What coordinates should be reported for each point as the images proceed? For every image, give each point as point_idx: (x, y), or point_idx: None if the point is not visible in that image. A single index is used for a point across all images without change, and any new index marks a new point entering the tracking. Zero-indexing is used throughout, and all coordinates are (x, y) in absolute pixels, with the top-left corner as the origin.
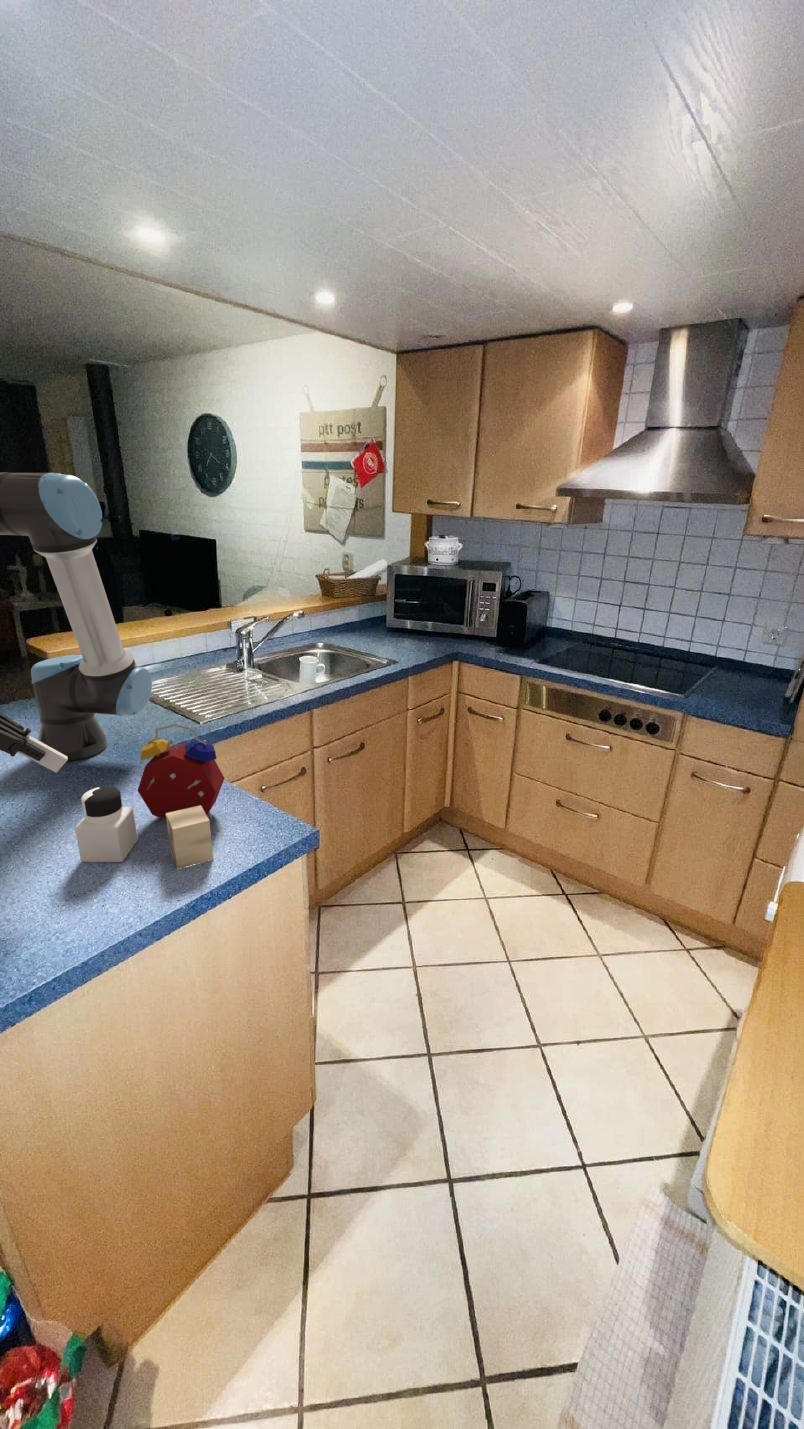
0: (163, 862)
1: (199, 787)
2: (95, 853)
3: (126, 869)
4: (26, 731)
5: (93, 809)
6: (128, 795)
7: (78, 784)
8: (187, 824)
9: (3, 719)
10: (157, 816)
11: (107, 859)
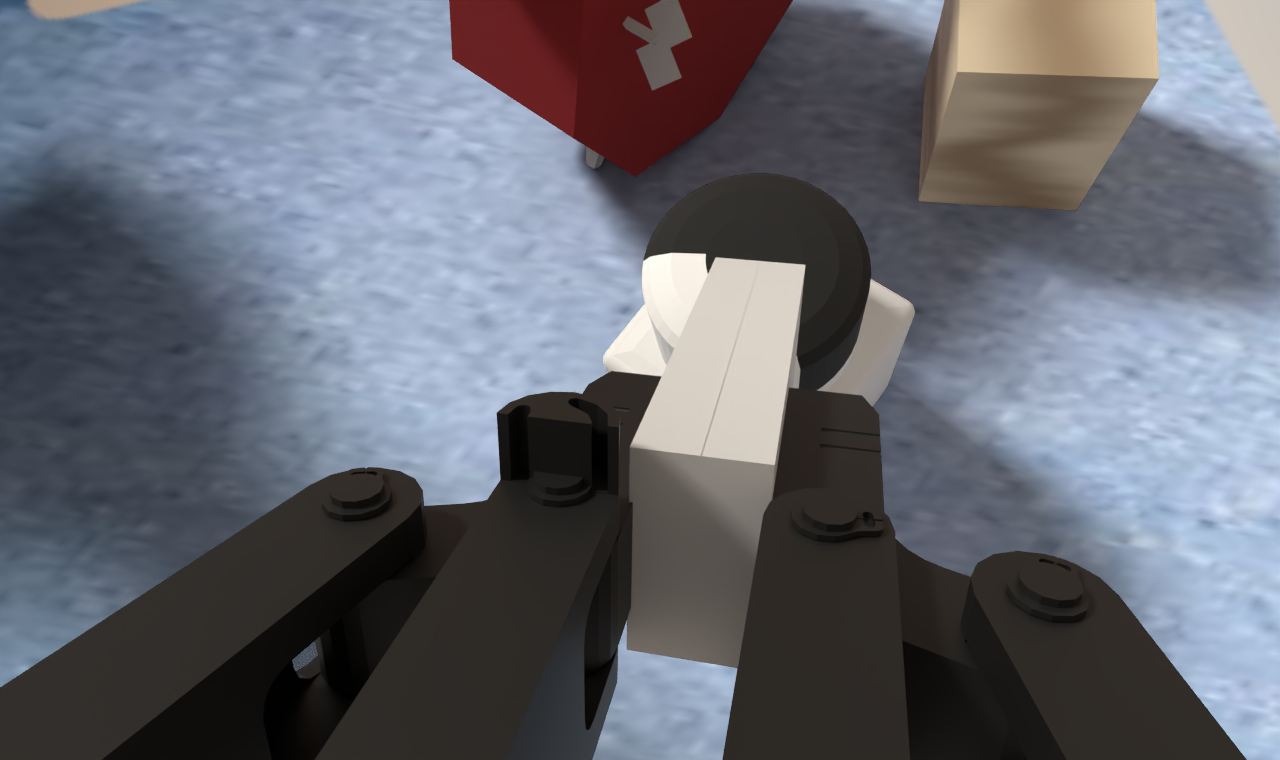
0: (985, 243)
1: None
2: None
3: (955, 379)
4: (591, 454)
5: (848, 347)
6: (303, 234)
7: (29, 396)
8: (1143, 13)
9: (191, 731)
10: (650, 164)
11: None
